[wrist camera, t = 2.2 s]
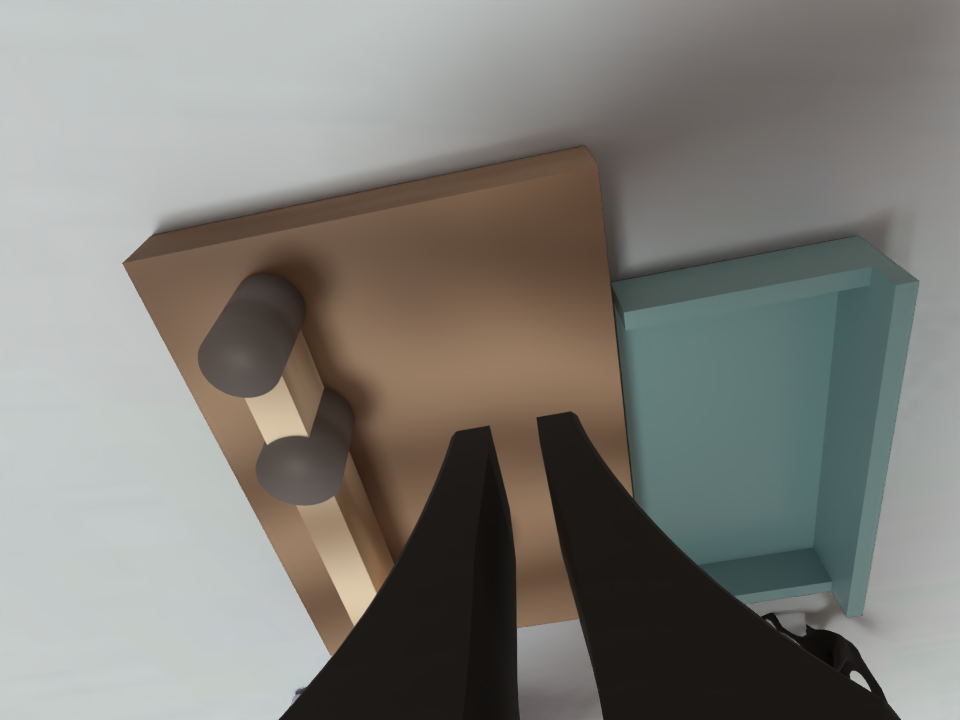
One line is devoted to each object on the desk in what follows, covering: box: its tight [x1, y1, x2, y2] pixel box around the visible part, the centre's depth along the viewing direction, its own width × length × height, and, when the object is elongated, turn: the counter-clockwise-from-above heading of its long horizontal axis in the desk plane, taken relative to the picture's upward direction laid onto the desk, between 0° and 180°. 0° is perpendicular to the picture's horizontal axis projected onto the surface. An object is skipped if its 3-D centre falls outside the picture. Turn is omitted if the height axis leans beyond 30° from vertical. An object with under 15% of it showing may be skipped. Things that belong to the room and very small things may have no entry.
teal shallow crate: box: [611, 236, 919, 618], centre depth 23 cm, size 14×8×3 cm, turn 11°
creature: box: [761, 613, 887, 702], centre depth 29 cm, size 8×5×8 cm
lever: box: [198, 274, 394, 626], centre depth 21 cm, size 15×2×3 cm, turn 11°
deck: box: [122, 146, 633, 655], centre depth 23 cm, size 18×13×2 cm
